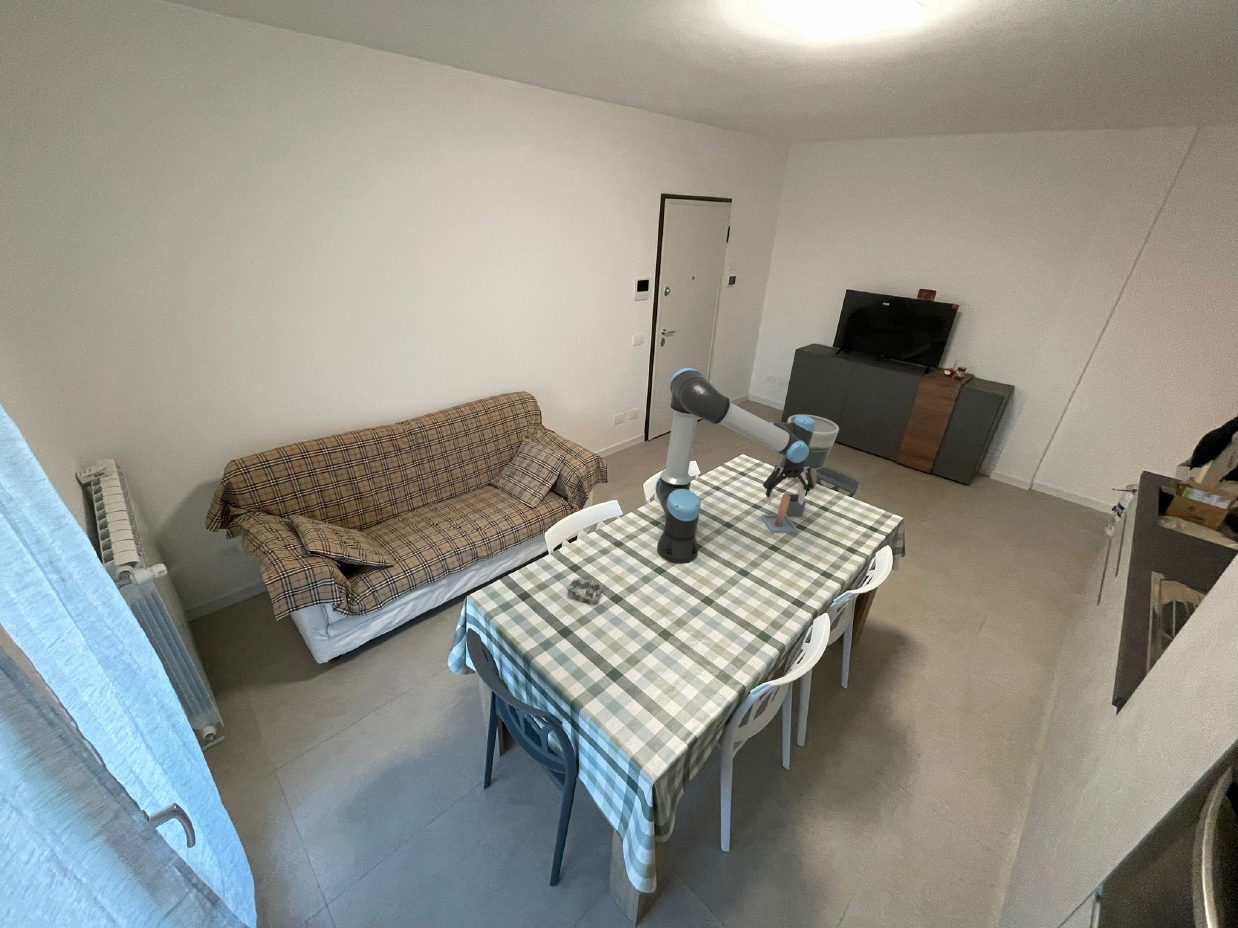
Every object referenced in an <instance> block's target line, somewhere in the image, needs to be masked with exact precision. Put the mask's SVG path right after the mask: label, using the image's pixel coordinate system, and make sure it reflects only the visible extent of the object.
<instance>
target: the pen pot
mask: <svg viewBox="0 0 1238 928" xmlns="http://www.w3.org/2000/svg"><path fill="white" fill-rule="evenodd" d="M786 494H787V495H789V496H790V500H789V504H788V507H787V511H786V515H787V516H788V517H789V518H790V517H793V518H794V517H796V518H797V517H799V518H800V517H803V514H804V511H805V507H806V501H805V500H804V501H803V505H801V504H800V503H799V502H798V498H799V494H798V493H786Z"/></svg>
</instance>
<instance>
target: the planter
mask: <svg viewBox="0 0 1238 928" xmlns="http://www.w3.org/2000/svg"><path fill="white" fill-rule="evenodd" d="M796 416H808V417H810V418H812V419H813V420H814V421H815V427H814V432H813V435H812V439H811V442H810V446H809V454H808V456H807V458H806V461H805V465H804V467H805V466H807V465H808V466H809V467H810V468H811V473H810V474H811V477H812V481H813V485H814V487H816V485H817V470H820V469H822V468H823V467H824V466H825V464H826V462H827V460H828V457H829V455H830V452H831V450H832V448H833V446H834V444H835V440H836V439H837V436H838V433H839V431H840V428H839V425H838V424H837V423H835V422H834V421H832V420H830V419H828V418H825V417H821V416H817V415H811V414H793V415H791V416H788V418H787V421H786V423H790V422H793V421H794V419H795V417H796ZM783 459H784V460H785V456H784V455H783ZM781 467H783V465H782V466H781ZM781 472H782V471H781ZM781 472H780V473H781ZM780 473H779V474H780ZM779 474H778V476H779ZM801 476H802V478H803V479H804V481H805V482H806V481H807V478H806V474H805V472H804V471H803V472H802V473H801ZM801 487H804V486H803V485H802V483H801V482H800V480H799V482H798V488H797V494H799V495H800V491H801Z"/></svg>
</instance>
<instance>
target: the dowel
mask: <svg viewBox="0 0 1238 928" xmlns="http://www.w3.org/2000/svg"><path fill="white" fill-rule="evenodd" d="M787 494H788V493H784V494H782V496H781V500H780V503H779V508H778V510H777V514H776V515H777V518H776V522H775V525H776V526H777V527H782V525H783V522H784V518H785V515H786V511H787V507H788V504H789V500H790V496H789V495H787Z"/></svg>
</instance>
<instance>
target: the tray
mask: <svg viewBox="0 0 1238 928" xmlns="http://www.w3.org/2000/svg"><path fill="white" fill-rule="evenodd" d="M776 518H777V514H761V516H760V519H761V521H762V522H763V523H764V525H765V527H766V528H767V530H768V531H769V533H770V534H791V533H793V534H795V533H798V531H799V529H798V528H797V526H796V525H795V524H794V523H793V521H792V519H790V517H788V516H787V515H785V518H784V522H783V525H782V527H777V526H776V525H775V522H776Z"/></svg>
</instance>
